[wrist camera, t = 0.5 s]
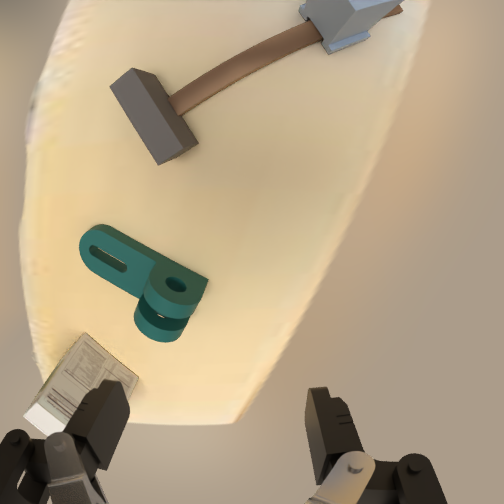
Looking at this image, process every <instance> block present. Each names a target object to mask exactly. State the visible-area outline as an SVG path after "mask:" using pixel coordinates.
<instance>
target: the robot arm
mask: <svg viewBox="0 0 504 504" xmlns="http://www.w3.org/2000/svg"><path fill="white" fill-rule="evenodd" d="M129 415H130V407H129V403H128V401H127V398H126V395H125V392H124V389H123V386H122V383H121V382H120V381H115V380H109V379H103V380H102V382H101V383H100V385H99V387H98V388H93V389H92V390H90V391H89V392H88V393H87V394H85V396H84V398H83V399H82V401H81V404H79V405H78V407H77V410H75V412H74V413H73V415H72V417H71V418H70V420H69V422H68V423H67V425H66V427H65V428H64V430H63V431H62V432H55V433H53V434H51V435H49V436H48V437H47V438H46V440H44V439H30V437H29V435H28V434H27V433H26V432H25V431H24V430H21V429H15V430H12V431H10V432H8V433H7V434H6V436H5V437H4V439H3V440H2V442H1V444H0V504H47V501H48V499H49V496H51V500H52V504H109V503H108V501H107V498H106V496H105V494H104V492H103V489H102V487H101V485H100V482H99V480H98V478H97V475H96V474H95V473H96V471H97V469H98V468H99V469H102V470H107V469H108V466H109V464H110V461H111V459H112V456H113V454H114V451H115V449H116V447H117V444H118V442H119V440H120V437H121V435H122V432H123V430H124V428H125V425H126V423H127V421H128V418H129ZM305 427H306V432H307V437H308V442H309V448H310V452H311V458H312V463H313V469H314V474H315V480H316V485H321V486H320V488H319V489H318V490H317V492H316V493H315V494H314V495H313V497H312V498H309V499H308V500H307V501H306V502H305V503H304V504H447V501H446V499H445V496H444V493H443V491H442V488H441V486H440V483H439V481H438V478H437V476H436V474H435V471H434V469H433V466H432V464H431V462H430V460H429V459H428V458H427V457H425V456H423V455H421V454H416V453H414V454H408V455H406V456H404V457H402V458H401V459H400V461H399V462H387V461H378V460H375V459H373V458H372V457H371V456H370V455H368V454H367V453H365V452H364V450H363V447H362V444H361V442H360V439H359V436H358V433H357V430H356V428H355V425H354V423H353V419H352V417H351V415H350V411H349V408H348V406H347V404H346V403H345V402H344V401H343V400H342V399H341V398H339V397H336V398H331V397H330V394H329V391H328V388H327V387H318V388H309V390H308V395H307V402H306V409H305ZM23 471H25V472H26V473H25V475H24V477H23V479H22V481H21V483H20V485H19V487H18V490H17V483H18V481H19V479H20V477H21V475H22V473H23Z"/></svg>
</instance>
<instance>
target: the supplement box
mask: <svg viewBox="0 0 504 504" xmlns="http://www.w3.org/2000/svg"><path fill="white" fill-rule="evenodd" d="M103 379H109V380H115V381H120V382H121V383H122V386H123V389H124V392H125V395H126V398H127V401H128V400H129V398H130V396H131V394H132V391H133V389H134V387H135V385H136V382H137V380H138V376H136V375H135V374H134V373H132V372H131V371H130V370H129V369H127V368H126V367H125V366H124V365H122V364H121V363H120V362H119V361H118V360H116V359H115V358H114V357H113V356H112V355H110V354H109V353H108V352H107V351H106V350H105V349H103V348H102V347H101V346H100V345H99V344H98V343H97V342H95V341H94V340H93V339H92V338H91V337H90V336H89V335H88V334H87V333H84V334H83V335H82V336H81V337H80V338H79V339H78V340H77V342H76V343H75V344H74V345H73V346H72V347H71V348H70V349H69V350H68V351H67V352H66V353H65V355H64V356H63V357H62V359H61V360H60V362H59V363H58V364H57V366H56V367H55V369H54V370H53V372H52V373H51V375H50V376H49V378H48V379H47V381H46V382H45V383H44V385H43V386H42V388H41V389H40V391H39V392H38V394H37V396H36V397H35V399H34V400H33V402H32V403H31V405H30V406H29V408H28V410H27V411H26V413H25V414H24V417H25V418H26V419H27V420H28V421H29V422H30V423H32V424H33V425H34V426H35V427H37V428H38V429H39V430H41V431H42V432H43V433H45V434H46V435H47V436H49V435H51V434H53V433H55V432H62V431H63V430H64V428H65V427H66V425H67V423H68V422H69V420H70V418H71V417H72V415H73V413H74V412H75V410H77V407H78V405H79V404H81V401H82V399H83V398H84V396H85V394H87V393H88V392H89V391H90V390H92V389H93V388H98V387H99V385H100V383H101V382H102V380H103Z"/></svg>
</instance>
